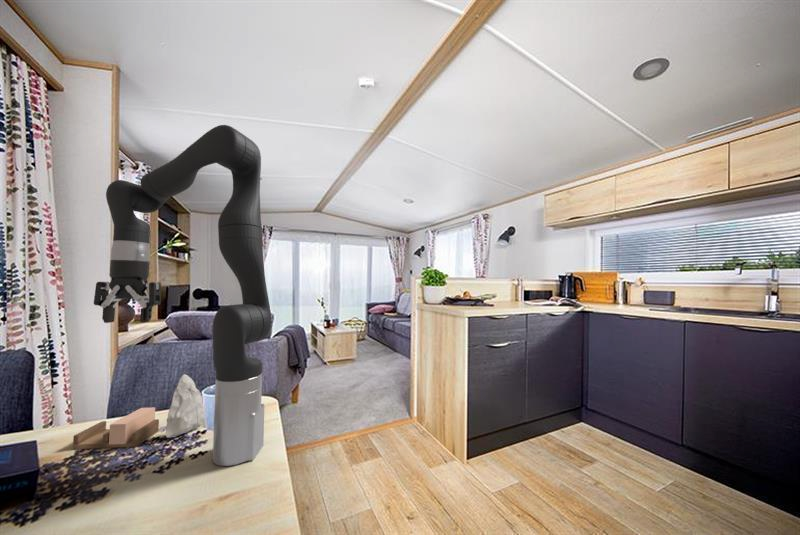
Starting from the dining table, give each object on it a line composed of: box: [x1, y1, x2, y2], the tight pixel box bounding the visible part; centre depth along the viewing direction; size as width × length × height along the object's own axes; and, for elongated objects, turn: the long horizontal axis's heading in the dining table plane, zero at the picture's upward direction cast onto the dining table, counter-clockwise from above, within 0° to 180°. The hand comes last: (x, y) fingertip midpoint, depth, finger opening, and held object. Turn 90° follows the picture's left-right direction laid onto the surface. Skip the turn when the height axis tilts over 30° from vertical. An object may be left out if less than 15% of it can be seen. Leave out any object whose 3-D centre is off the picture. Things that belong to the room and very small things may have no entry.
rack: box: [72, 418, 160, 450], centre depth 71 cm, size 14×7×3 cm, turn 95°
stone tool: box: [165, 373, 205, 439], centre depth 74 cm, size 8×3×15 cm, turn 151°
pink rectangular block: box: [109, 406, 156, 445], centre depth 71 cm, size 3×9×4 cm, turn 5°
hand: (126, 322), depth 75 cm, fingers open, 8 cm apart
